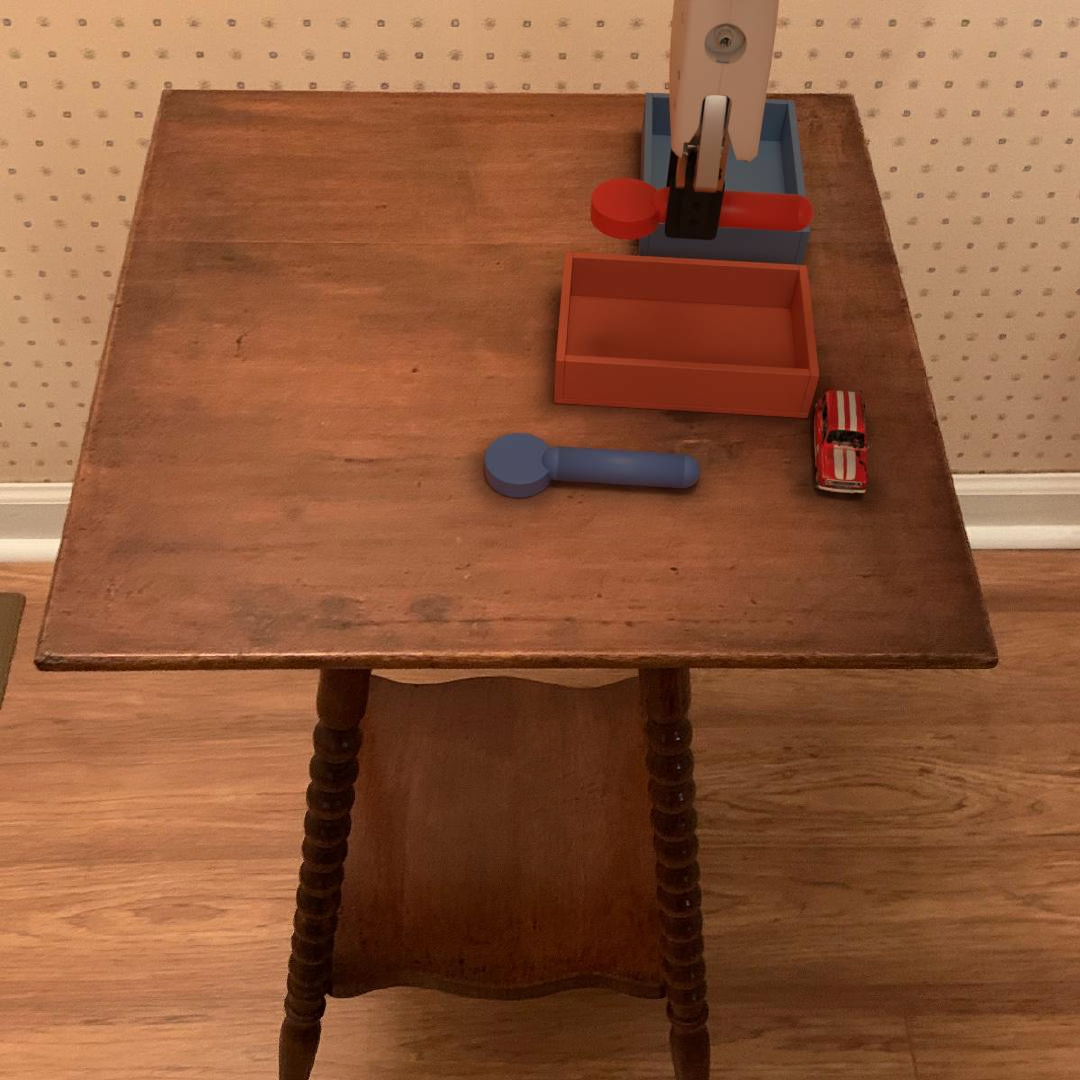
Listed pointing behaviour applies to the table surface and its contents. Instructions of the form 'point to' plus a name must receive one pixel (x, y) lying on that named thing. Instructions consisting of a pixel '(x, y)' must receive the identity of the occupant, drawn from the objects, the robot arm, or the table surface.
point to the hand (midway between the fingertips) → (689, 219)
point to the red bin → (686, 335)
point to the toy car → (840, 442)
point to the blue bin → (731, 187)
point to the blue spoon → (579, 466)
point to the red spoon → (642, 207)
